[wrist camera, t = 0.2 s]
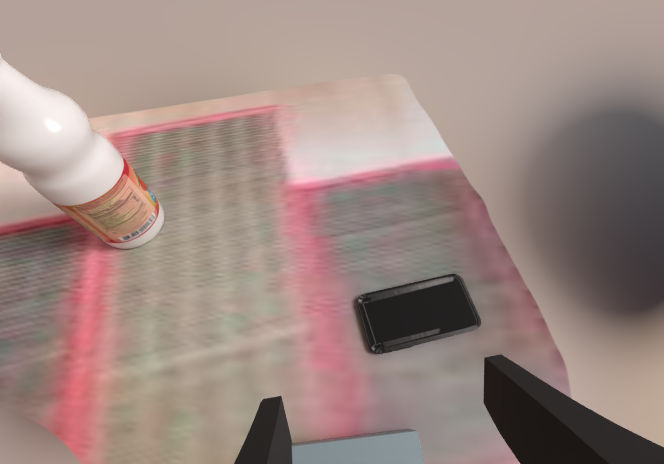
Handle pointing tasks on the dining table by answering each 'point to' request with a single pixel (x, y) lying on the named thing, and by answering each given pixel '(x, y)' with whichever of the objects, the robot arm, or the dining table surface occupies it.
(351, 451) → the box
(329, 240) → the dining table surface
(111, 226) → the fruit juice
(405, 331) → the phone
